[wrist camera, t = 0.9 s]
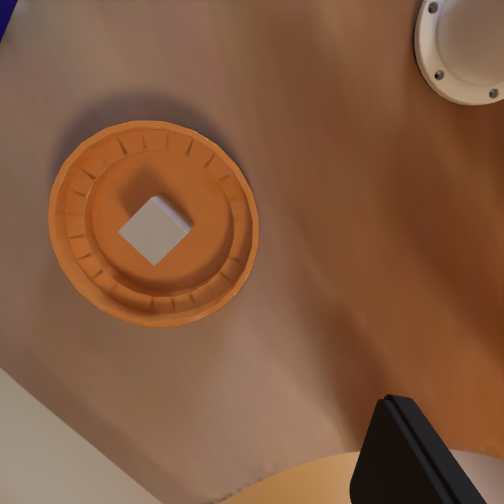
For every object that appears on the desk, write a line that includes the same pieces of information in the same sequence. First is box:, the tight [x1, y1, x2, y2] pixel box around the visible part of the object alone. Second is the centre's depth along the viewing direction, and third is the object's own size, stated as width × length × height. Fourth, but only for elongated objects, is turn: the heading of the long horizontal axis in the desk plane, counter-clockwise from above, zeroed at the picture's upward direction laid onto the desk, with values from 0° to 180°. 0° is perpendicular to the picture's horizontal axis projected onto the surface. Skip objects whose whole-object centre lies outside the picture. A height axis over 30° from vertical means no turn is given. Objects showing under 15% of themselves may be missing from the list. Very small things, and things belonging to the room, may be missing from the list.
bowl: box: [47, 120, 259, 327], centre depth 35 cm, size 19×19×4 cm
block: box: [118, 193, 195, 266], centre depth 34 cm, size 4×4×4 cm
